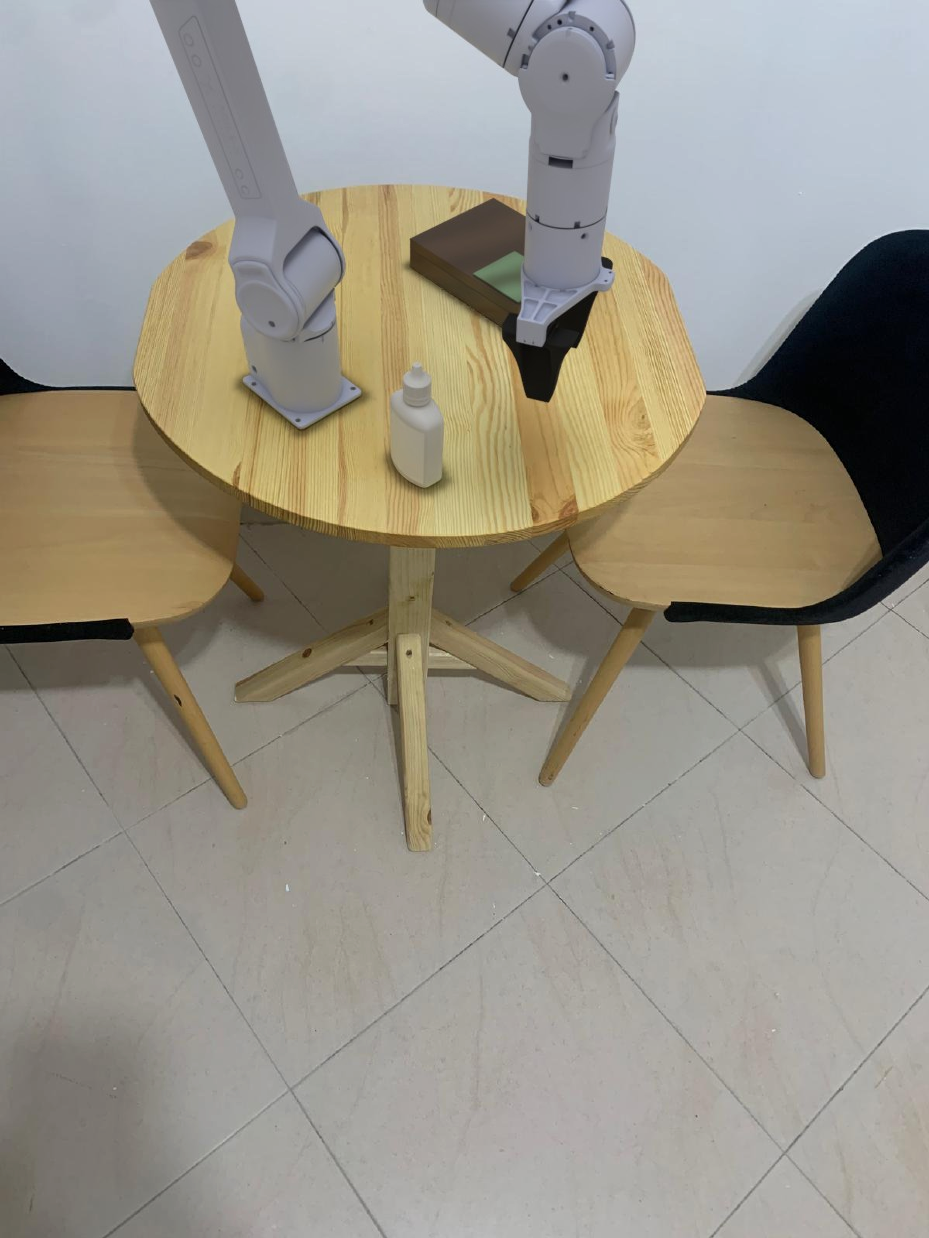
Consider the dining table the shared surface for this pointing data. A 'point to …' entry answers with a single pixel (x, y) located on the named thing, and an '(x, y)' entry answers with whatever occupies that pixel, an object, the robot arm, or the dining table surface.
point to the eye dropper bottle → (416, 429)
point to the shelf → (476, 258)
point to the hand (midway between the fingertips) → (553, 370)
